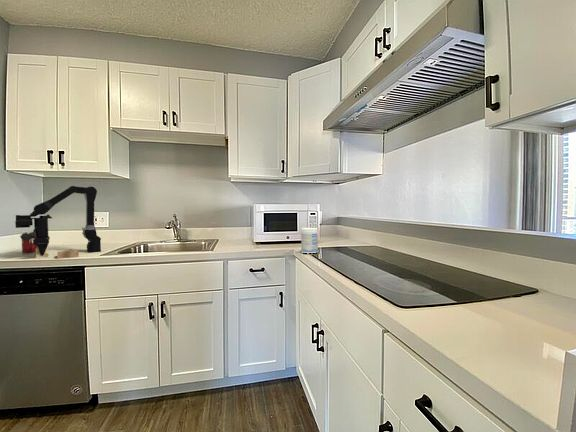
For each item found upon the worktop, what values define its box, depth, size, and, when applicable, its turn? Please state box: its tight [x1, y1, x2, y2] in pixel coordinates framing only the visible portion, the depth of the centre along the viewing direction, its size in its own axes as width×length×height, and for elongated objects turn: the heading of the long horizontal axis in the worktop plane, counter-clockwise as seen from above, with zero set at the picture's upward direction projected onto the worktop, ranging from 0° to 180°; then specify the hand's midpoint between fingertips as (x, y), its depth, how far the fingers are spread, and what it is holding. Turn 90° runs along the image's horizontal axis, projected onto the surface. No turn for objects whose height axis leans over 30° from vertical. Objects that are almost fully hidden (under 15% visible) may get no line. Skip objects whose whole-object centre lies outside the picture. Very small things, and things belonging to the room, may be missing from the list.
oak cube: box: [35, 246, 49, 259], centre depth 154 cm, size 5×5×5 cm
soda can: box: [20, 233, 38, 255], centre depth 166 cm, size 7×7×12 cm
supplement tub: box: [300, 227, 319, 254], centre depth 162 cm, size 10×10×15 cm
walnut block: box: [57, 249, 80, 260], centre depth 154 cm, size 9×9×3 cm
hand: (42, 254), depth 154 cm, fingers closed on oak cube, 5 cm apart
